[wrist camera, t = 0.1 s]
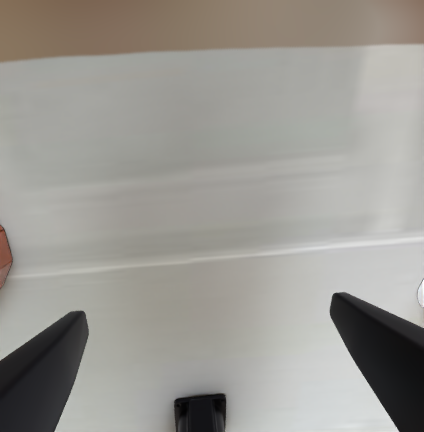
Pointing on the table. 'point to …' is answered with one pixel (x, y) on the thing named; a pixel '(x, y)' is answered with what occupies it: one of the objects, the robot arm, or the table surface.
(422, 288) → the champagne flute
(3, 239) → the terracotta ring
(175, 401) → the robot arm
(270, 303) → the table surface
